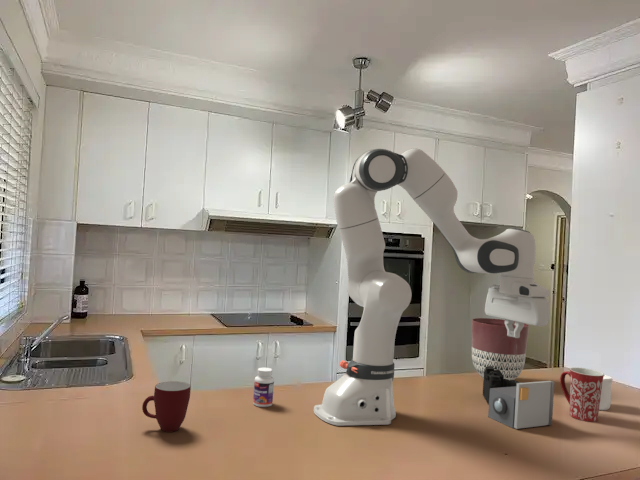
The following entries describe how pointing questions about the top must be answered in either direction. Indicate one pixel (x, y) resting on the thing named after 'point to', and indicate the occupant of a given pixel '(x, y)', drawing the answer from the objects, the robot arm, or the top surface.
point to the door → (534, 404)
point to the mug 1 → (169, 404)
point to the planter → (498, 347)
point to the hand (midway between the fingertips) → (513, 337)
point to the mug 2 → (583, 393)
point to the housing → (502, 405)
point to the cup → (605, 393)
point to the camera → (494, 381)
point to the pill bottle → (263, 388)
